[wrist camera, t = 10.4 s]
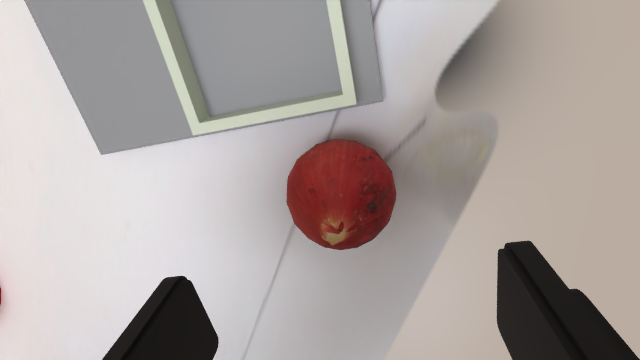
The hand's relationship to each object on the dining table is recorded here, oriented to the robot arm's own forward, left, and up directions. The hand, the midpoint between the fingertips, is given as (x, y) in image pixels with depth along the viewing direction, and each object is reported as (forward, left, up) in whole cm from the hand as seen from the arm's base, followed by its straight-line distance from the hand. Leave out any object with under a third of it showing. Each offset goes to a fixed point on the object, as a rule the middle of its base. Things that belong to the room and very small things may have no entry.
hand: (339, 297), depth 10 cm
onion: (-1, 0, -12) cm, 12 cm away
